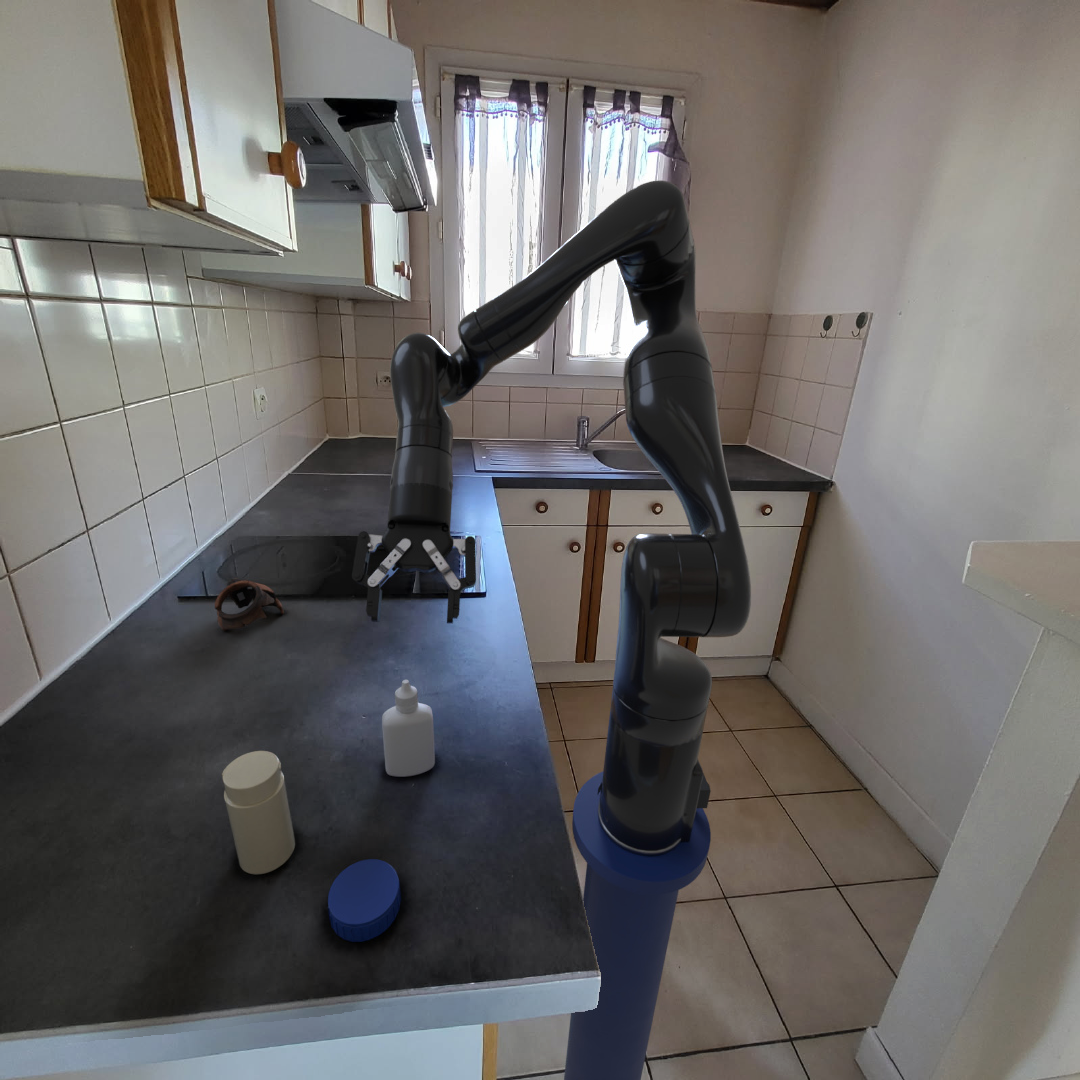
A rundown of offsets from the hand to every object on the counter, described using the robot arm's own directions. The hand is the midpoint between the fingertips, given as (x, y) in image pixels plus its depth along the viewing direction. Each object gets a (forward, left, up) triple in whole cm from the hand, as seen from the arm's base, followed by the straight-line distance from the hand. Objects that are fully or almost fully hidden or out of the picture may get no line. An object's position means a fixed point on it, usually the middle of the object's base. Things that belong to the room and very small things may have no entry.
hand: (412, 622), depth 65 cm
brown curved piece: (+32, -27, -16) cm, 45 cm away
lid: (+1, +23, -14) cm, 27 cm away
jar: (+12, +17, -16) cm, 26 cm away
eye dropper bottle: (0, +6, -16) cm, 17 cm away
